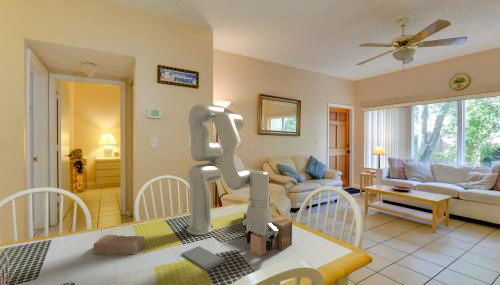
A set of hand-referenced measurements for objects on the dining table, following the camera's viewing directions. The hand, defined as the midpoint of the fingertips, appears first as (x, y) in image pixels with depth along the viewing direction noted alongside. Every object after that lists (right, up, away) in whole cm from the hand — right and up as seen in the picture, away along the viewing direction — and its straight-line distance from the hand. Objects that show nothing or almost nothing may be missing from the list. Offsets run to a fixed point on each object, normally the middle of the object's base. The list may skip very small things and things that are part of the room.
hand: (259, 246), depth 93 cm
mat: (-21, -2, -5) cm, 22 cm away
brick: (-55, -2, +1) cm, 56 cm away
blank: (+2, -2, +3) cm, 5 cm away
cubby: (+4, -2, +10) cm, 11 cm away
